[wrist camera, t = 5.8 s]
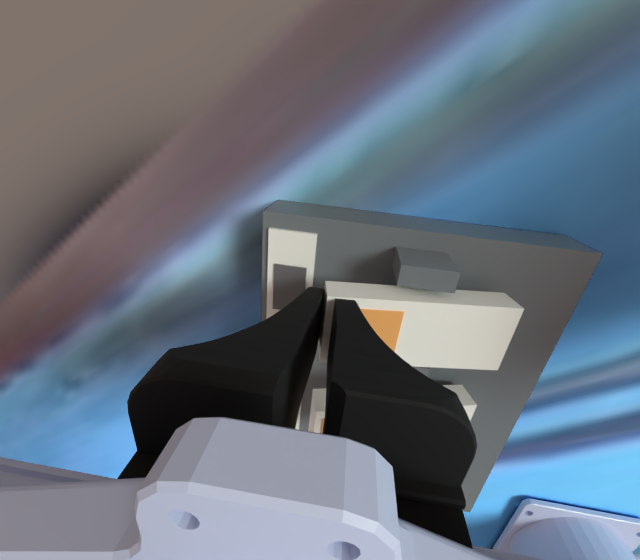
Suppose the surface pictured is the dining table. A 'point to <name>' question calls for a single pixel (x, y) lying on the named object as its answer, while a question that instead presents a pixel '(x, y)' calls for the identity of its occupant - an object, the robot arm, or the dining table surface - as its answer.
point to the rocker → (430, 323)
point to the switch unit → (438, 275)
